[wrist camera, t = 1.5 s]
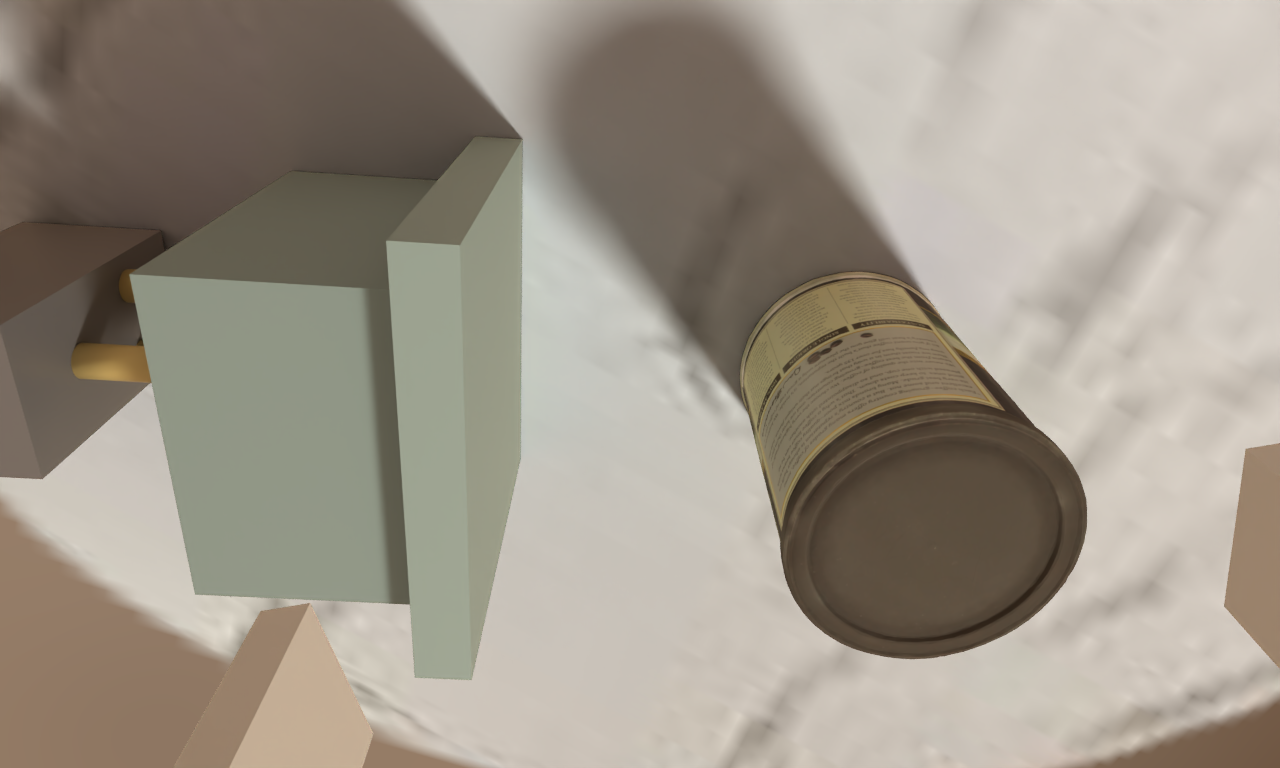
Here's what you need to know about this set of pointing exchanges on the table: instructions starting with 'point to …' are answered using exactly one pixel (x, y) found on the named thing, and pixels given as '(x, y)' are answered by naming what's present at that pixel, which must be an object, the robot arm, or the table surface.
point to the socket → (349, 391)
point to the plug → (66, 337)
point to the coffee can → (902, 473)
